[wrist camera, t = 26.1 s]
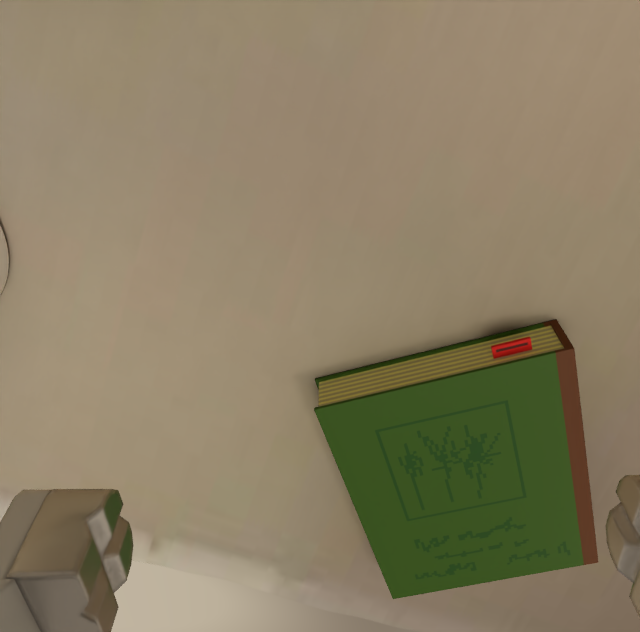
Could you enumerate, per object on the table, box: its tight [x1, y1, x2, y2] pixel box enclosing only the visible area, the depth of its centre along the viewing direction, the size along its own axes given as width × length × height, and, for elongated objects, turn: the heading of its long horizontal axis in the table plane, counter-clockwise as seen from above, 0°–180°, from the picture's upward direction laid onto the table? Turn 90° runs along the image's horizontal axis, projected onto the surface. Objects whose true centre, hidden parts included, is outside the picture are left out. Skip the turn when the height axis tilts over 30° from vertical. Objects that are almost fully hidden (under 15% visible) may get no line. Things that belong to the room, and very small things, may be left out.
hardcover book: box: [314, 320, 598, 599], centre depth 50 cm, size 25×19×4 cm
